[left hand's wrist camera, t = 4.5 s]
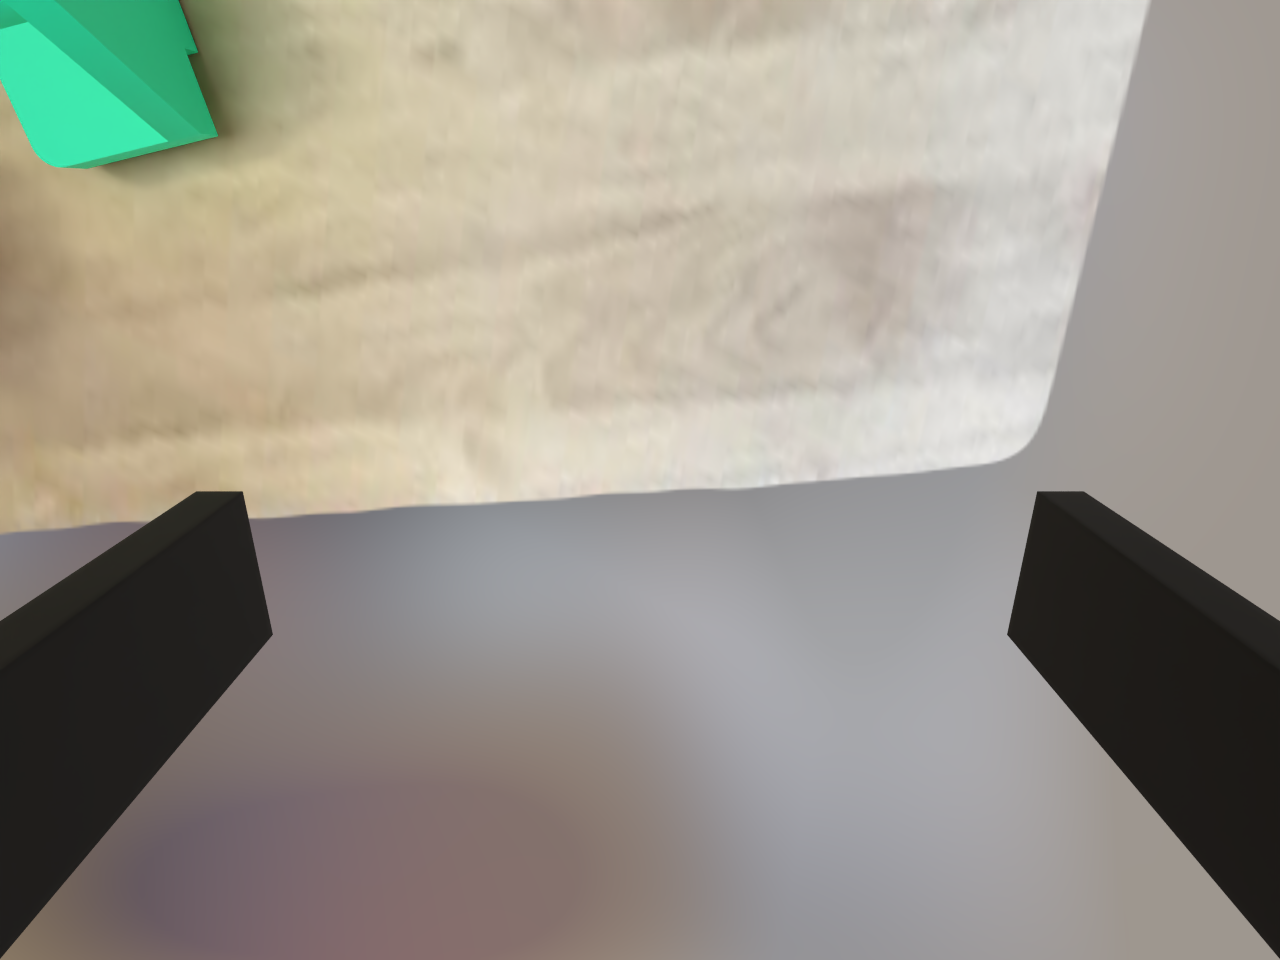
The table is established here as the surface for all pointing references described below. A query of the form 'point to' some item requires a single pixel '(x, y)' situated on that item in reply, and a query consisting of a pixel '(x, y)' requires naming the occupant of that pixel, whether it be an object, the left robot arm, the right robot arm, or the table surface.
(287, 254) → the table surface
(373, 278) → the table surface
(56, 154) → the camera mount
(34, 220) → the table surface
